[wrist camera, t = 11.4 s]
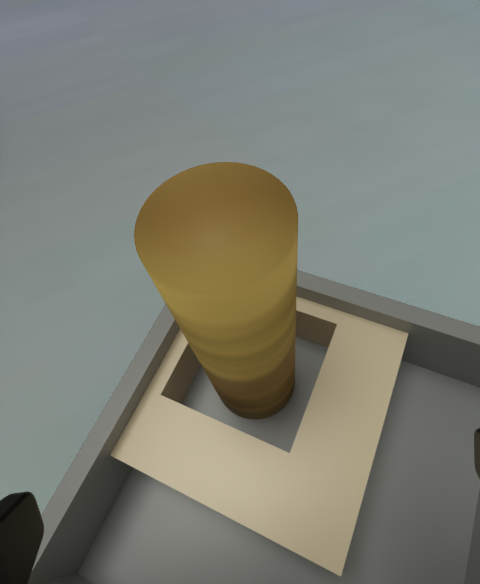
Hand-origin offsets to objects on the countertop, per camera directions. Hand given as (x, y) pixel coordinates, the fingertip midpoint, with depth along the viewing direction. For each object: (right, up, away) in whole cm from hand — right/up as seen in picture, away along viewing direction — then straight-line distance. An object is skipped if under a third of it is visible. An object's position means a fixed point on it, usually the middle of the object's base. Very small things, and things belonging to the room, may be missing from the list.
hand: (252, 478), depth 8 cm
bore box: (+2, -5, +11) cm, 12 cm away
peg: (+1, -1, +12) cm, 12 cm away
